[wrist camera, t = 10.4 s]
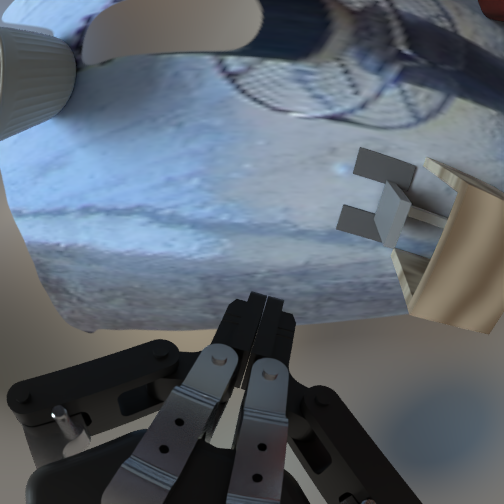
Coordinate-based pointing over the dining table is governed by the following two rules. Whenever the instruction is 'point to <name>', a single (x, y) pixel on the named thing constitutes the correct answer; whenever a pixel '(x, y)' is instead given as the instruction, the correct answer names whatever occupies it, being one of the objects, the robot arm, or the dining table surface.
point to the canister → (32, 79)
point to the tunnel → (460, 259)
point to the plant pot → (493, 9)
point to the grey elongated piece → (399, 214)
